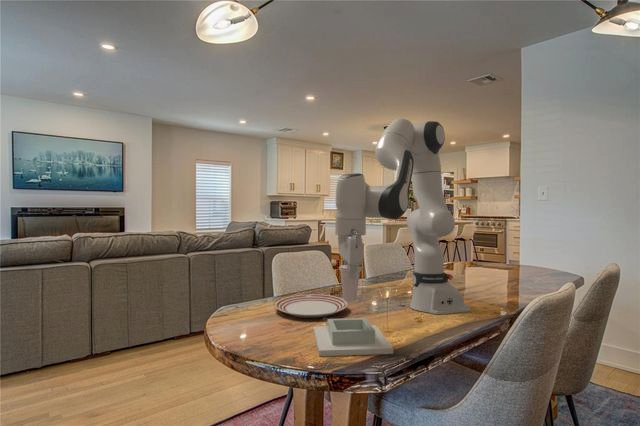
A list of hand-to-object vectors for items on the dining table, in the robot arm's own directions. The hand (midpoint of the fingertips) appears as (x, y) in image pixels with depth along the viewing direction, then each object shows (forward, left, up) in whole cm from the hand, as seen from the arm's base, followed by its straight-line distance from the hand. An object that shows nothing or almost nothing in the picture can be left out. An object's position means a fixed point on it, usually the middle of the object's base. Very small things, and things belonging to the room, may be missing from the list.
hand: (350, 276), depth 109 cm
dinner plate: (+9, -34, -20) cm, 40 cm away
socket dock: (0, 0, -19) cm, 19 cm away
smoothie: (0, 0, -7) cm, 7 cm away
